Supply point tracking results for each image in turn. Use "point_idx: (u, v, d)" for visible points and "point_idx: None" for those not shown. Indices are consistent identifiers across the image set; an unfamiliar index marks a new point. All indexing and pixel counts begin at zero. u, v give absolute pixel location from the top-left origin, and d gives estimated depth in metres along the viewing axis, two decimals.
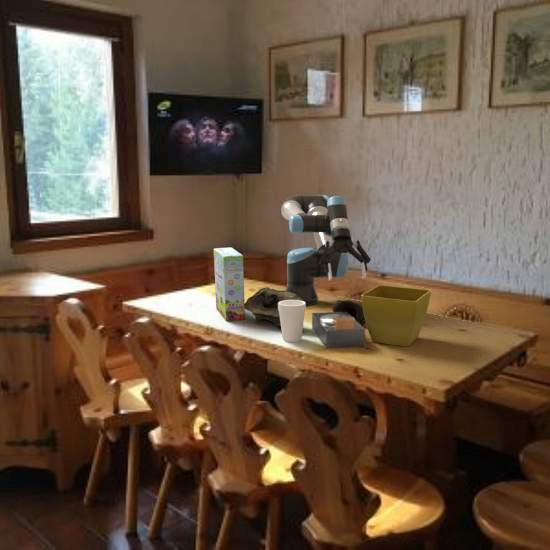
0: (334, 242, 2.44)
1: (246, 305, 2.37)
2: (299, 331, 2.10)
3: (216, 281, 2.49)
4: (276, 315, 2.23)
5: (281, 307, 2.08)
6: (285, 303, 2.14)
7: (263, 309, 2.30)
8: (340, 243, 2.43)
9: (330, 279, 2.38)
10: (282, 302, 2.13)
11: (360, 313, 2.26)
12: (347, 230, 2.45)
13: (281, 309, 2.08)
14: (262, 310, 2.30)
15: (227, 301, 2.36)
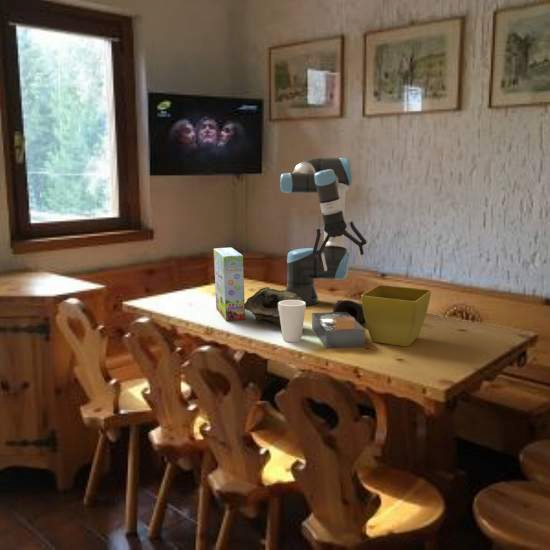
0: (325, 228, 2.27)
1: (246, 305, 2.37)
2: (299, 331, 2.10)
3: (216, 281, 2.49)
4: (276, 315, 2.23)
5: (281, 307, 2.08)
6: (285, 303, 2.14)
7: (263, 309, 2.30)
8: (331, 230, 2.26)
9: None
10: (282, 302, 2.13)
11: (360, 313, 2.27)
12: (337, 215, 2.23)
13: (281, 309, 2.08)
14: (262, 310, 2.30)
15: (227, 301, 2.36)
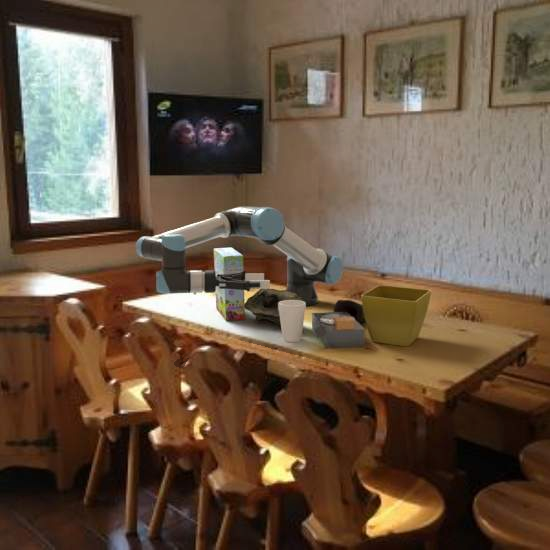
0: None
1: (246, 305, 2.37)
2: (299, 331, 2.10)
3: None
4: (277, 315, 2.23)
5: (281, 307, 2.08)
6: (285, 303, 2.14)
7: (263, 309, 2.30)
8: None
9: (263, 278, 2.14)
10: (282, 302, 2.13)
11: (361, 313, 2.27)
12: (207, 291, 2.03)
13: (281, 309, 2.08)
14: (262, 310, 2.30)
15: (227, 301, 2.36)
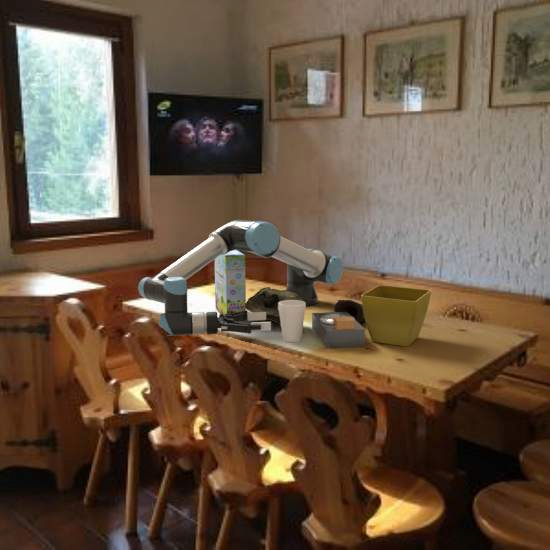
0: None
1: (247, 305, 2.37)
2: (299, 331, 2.10)
3: (216, 281, 2.49)
4: (277, 315, 2.23)
5: (281, 307, 2.08)
6: (285, 303, 2.14)
7: (264, 309, 2.30)
8: None
9: (265, 316, 2.17)
10: (282, 302, 2.13)
11: (361, 313, 2.27)
12: (210, 333, 2.06)
13: (281, 309, 2.08)
14: (263, 310, 2.30)
15: (228, 301, 2.36)
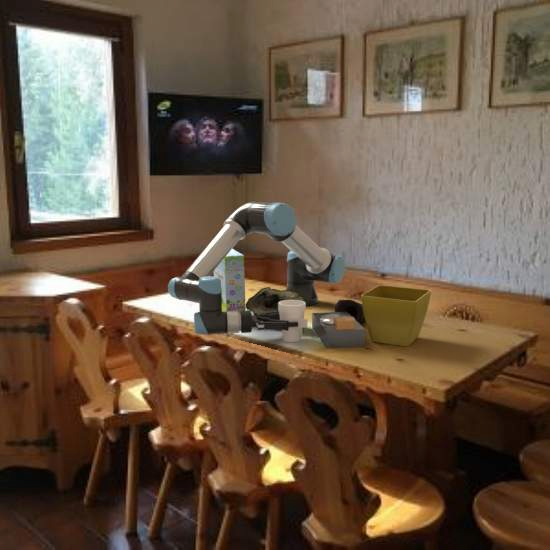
0: None
1: (247, 305, 2.37)
2: (299, 331, 2.10)
3: None
4: None
5: (281, 307, 2.08)
6: (285, 303, 2.14)
7: (265, 309, 2.30)
8: None
9: None
10: (282, 302, 2.13)
11: (361, 312, 2.27)
12: (244, 332, 2.08)
13: (281, 309, 2.08)
14: (264, 310, 2.30)
15: (228, 301, 2.36)
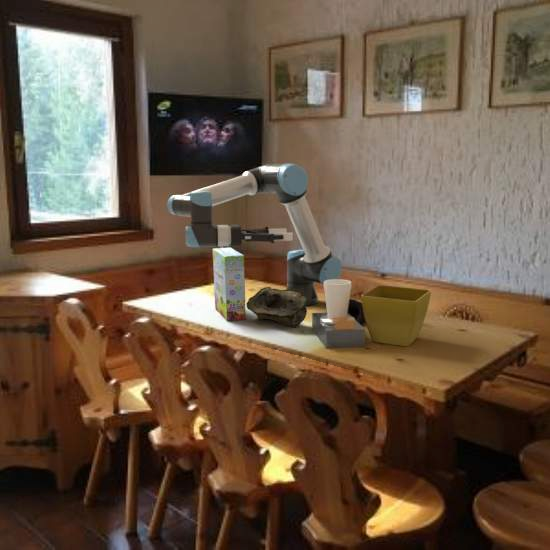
0: None
1: (248, 305, 2.37)
2: (345, 310, 2.10)
3: (216, 281, 2.49)
4: (281, 314, 2.24)
5: (327, 286, 2.08)
6: (330, 282, 2.15)
7: (267, 309, 2.31)
8: None
9: (286, 232, 2.26)
10: (327, 281, 2.14)
11: (363, 312, 2.28)
12: (234, 245, 2.15)
13: (327, 287, 2.08)
14: (266, 310, 2.30)
15: (228, 301, 2.36)
